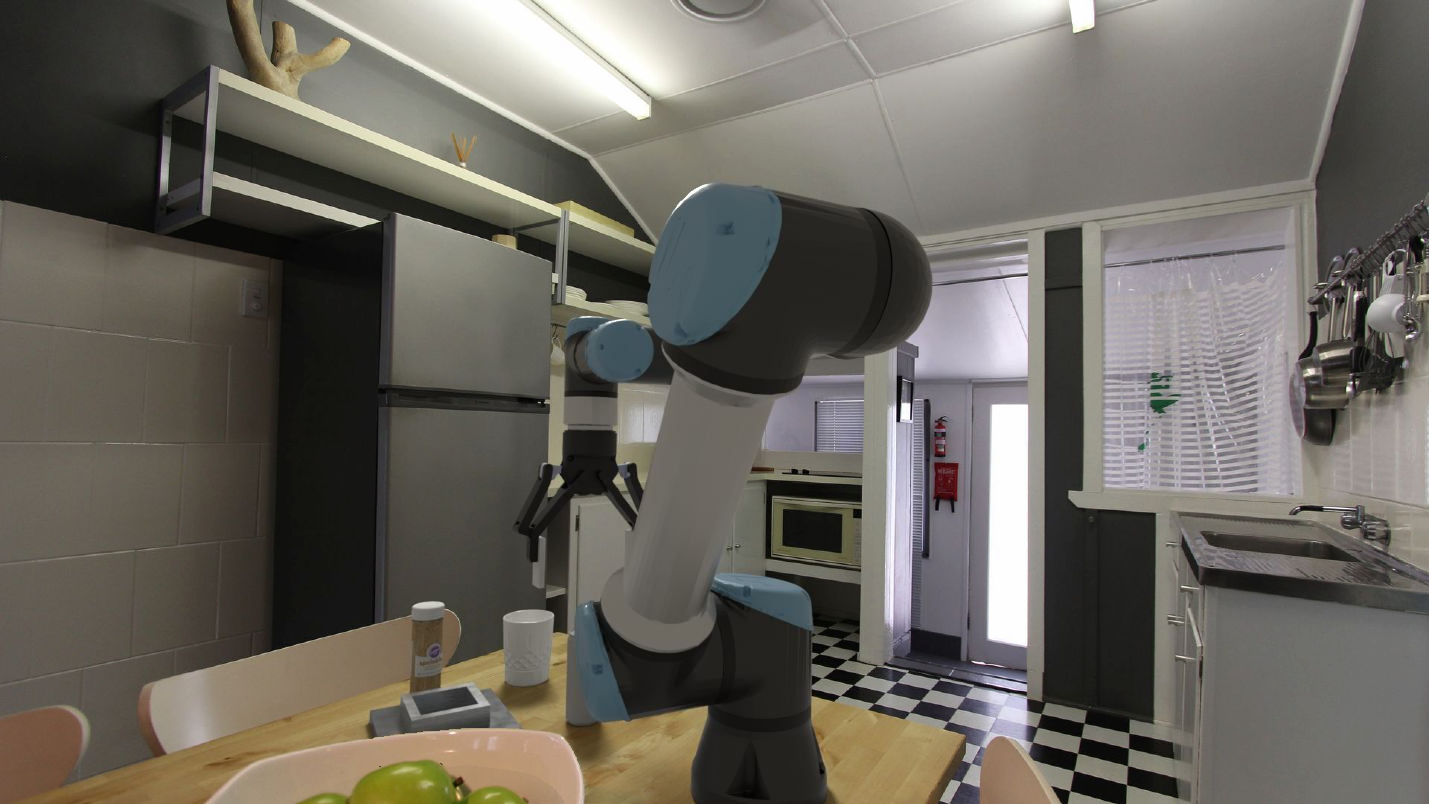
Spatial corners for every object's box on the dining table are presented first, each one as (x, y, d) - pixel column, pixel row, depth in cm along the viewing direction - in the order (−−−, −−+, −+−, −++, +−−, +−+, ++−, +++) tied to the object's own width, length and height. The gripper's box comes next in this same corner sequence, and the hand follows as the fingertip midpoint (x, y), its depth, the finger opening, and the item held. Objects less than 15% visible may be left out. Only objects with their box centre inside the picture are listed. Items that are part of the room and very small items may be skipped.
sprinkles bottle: (425, 703, 97) (428, 609, 98) (401, 698, 99) (404, 606, 99) (448, 692, 101) (451, 602, 102) (424, 687, 103) (428, 599, 104)
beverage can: (557, 722, 91) (560, 633, 92) (580, 710, 95) (582, 624, 96) (586, 730, 89) (588, 638, 90) (608, 717, 93) (609, 629, 94)
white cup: (537, 667, 113) (539, 607, 113) (561, 680, 107) (563, 616, 107) (492, 678, 107) (494, 615, 108) (515, 692, 102) (517, 625, 102)
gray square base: (522, 740, 86) (523, 708, 86) (383, 773, 77) (385, 737, 77) (490, 698, 99) (491, 670, 99) (369, 721, 91) (370, 691, 91)
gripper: (656, 429, 104) (653, 567, 103) (492, 426, 91) (487, 585, 90) (680, 430, 98) (677, 577, 97) (508, 426, 84) (503, 597, 83)
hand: (586, 581), depth 93 cm, fingers open, 13 cm apart
